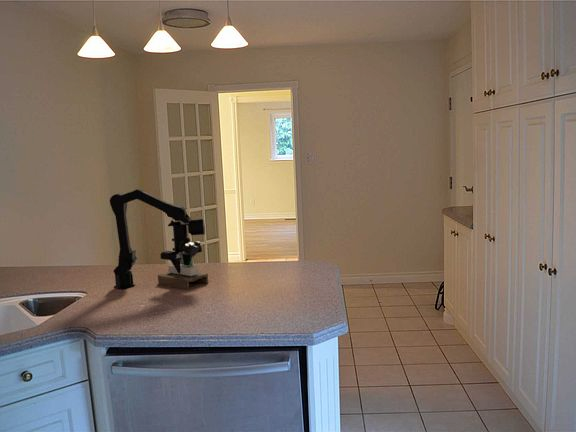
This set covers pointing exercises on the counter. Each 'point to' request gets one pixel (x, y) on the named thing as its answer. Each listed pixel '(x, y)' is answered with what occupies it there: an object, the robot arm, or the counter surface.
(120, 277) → the robot arm
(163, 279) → the keyhole board
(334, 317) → the counter surface
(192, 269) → the power strip
